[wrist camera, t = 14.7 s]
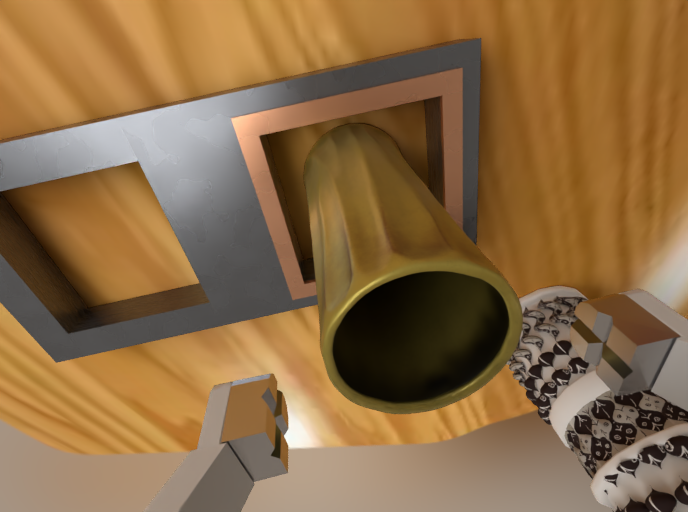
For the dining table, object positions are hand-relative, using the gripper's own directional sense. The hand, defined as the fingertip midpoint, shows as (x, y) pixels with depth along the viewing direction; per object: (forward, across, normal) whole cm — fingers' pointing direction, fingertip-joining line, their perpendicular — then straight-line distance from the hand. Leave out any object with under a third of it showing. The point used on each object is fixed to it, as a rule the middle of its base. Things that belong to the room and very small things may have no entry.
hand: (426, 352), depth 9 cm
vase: (+14, 0, 0) cm, 14 cm away
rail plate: (+14, +7, +1) cm, 16 cm away
